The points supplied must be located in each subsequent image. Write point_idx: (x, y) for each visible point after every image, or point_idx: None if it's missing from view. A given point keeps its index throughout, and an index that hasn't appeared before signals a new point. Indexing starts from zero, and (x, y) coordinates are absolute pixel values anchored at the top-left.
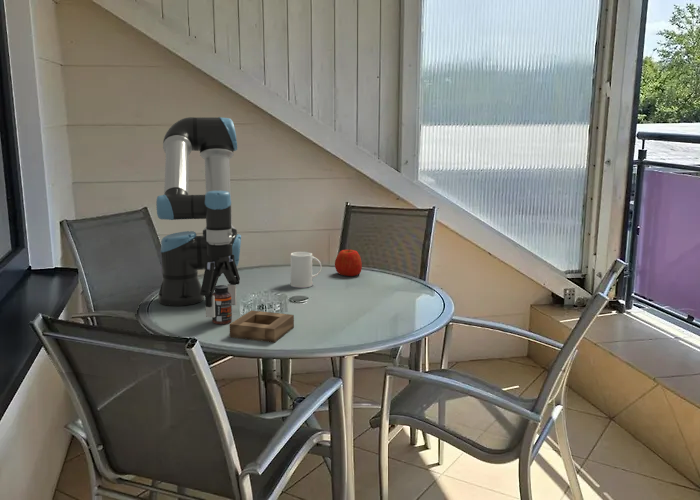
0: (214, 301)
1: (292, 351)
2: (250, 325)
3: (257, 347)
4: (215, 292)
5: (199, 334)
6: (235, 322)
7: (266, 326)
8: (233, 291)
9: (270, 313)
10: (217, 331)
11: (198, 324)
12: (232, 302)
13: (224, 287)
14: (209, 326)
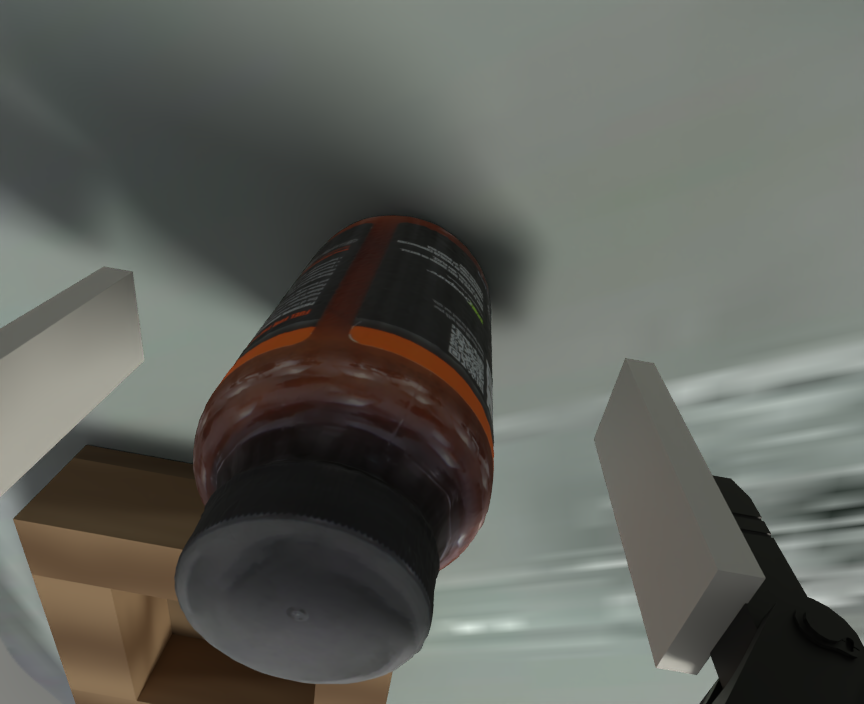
0: (13, 476)
1: (70, 698)
2: (67, 629)
3: (29, 591)
4: (236, 467)
5: (23, 213)
6: (70, 546)
7: (100, 693)
8: (641, 554)
9: (365, 691)
10: (158, 333)
11: (268, 84)
12: (611, 428)
13: (254, 663)
14: (248, 225)
